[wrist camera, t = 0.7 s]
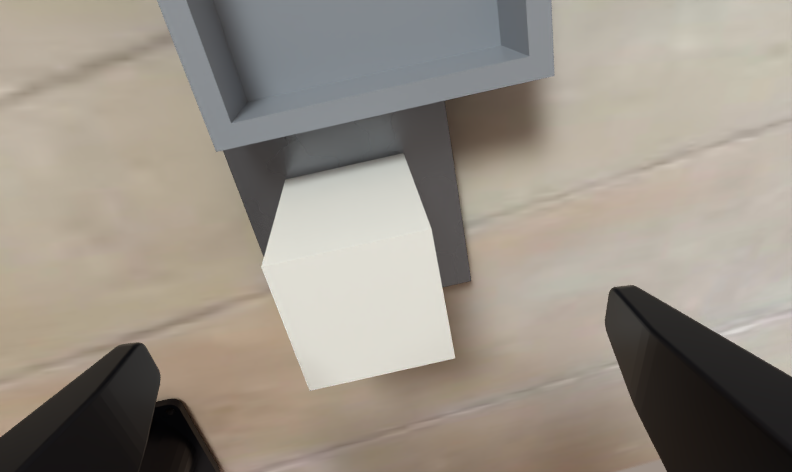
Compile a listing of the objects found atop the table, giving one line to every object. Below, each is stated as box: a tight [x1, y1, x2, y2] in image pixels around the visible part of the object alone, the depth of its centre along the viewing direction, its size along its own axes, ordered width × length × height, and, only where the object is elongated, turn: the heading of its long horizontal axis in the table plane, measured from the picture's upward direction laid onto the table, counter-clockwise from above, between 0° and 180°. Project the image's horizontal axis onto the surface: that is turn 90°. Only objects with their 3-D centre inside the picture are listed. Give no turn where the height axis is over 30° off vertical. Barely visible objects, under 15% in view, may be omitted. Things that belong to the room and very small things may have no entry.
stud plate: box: [223, 101, 471, 287], centre depth 20 cm, size 9×9×5 cm
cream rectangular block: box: [261, 153, 455, 391], centre depth 18 cm, size 5×5×7 cm
